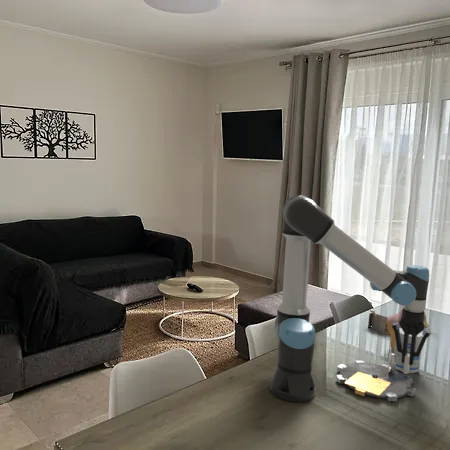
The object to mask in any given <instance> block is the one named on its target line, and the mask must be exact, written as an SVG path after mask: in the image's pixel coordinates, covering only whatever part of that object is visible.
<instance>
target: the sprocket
mask: <svg viewBox="0 0 450 450" xmlns="http://www.w3.org/2000/svg"><path fill="white" fill-rule="evenodd" d="M388 359H389V360H388V365H387V364H385V363H384V364H377V363H371V362H365V361H364V360H355V361H354V362H352V363H348V364H343V363H340V364H339V365H337V366H336V367H337V368H336V371H337V372H339V374H336V381H337V383H338V384H340V385H341V384H342V385H343V384H344V385H345V386H346V387H348V388H349V389H351V390H352V391H354V394H356V395H358V396H361V397H362V398H363V397H364V398H365V397H366V396H369V397H372V398H379V399H385V400H386V401H387V402H398V399H401V398H404V397H406V396H409V397H414V395H415V394H416V390H417V389H416V388H414V387H412V384H413V383H414V379H413V378H412V376H410V375H409V374H405V375H404V373H401V371H400V372H399V370H397V369H396V368H395V367H396V359H397V354H395V353H394V352H390V353H389V357H388Z"/></svg>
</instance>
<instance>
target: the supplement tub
mask: <svg viewBox="0 0 450 450" xmlns="http://www.w3.org/2000/svg"><path fill="white" fill-rule="evenodd" d="M399 330H400V337H401V344H402V348H403V341H404V332H403V330H402V328H400V329H399ZM411 337H412V335H409V340H408V348H407V354H410V348H411V340H412V338H411ZM422 337H423V332H420V333H419V334H418V335H417V338H416V347H415V352H417V349H418V347H419V344H420V342H421V340H422ZM393 353H395V354H397V359H396V367H395V370H396V371H398V372H399V371H400V372H403V370H404V363H402V362H401V361H402V353H400V352H398V351H397V346H396V340H395V348H394V351H393ZM421 354H422V352H421V353H420V355H419V356H418V357H416V356H415V357H414V362H413V364H412V365H410V369H409V373H408V374H415V373H418V372H419V369H420V362H421V356H422V355H421Z"/></svg>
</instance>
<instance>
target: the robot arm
mask: <svg viewBox="0 0 450 450" xmlns="http://www.w3.org/2000/svg"><path fill="white" fill-rule="evenodd" d="M281 212H282V214H281V215H282V218H283V219H282V231H281V232H282V235H283V236H284V237H285V249H284V250H285V251H284V252H285V253H284V266H283V267H284V268H283V284H282V294H281V295H282V296H281V297H282V299H281V303H280V304H279V305H278V306H277V309H276V311H277V312H276V318H275V322H274V331H275V333H276V338H277V345H278V346H277V347H278V348H277V360H276V367H275V370H274V372H273V374H272V377H271V379H270V382H269V390H270V389H271V390H270V392H271V391H272V392H271V393H272V395H274V396H275V397H276V398H278V397H279V399H281V400H283V401H288V402H291V403H292V402H294V403H303V401H304V402H308V401H311V400H312V399H314V398H315V396H316V389H317V388H316V384H315V379H314V375H313V361H314V353H315V352H314V351H315V340H316V329H315V326H314V325H313V323H311V322H310V316H311V315H310V314H311V310H310V308H309V307H308V306H307V297H308V296H307V295H308V283H309V282H308V281H309V271H310V270H309V269H310V257H311V256H310V254H311V245H312V244H311V242H312V243H313V244H315V245H316V244H320V245H321V246H322V247H324V248H326V249H327V250H328V251H329V252H330V253H332V254H333V255H335V256H336V257H337V258H338V259H340V260H341V262H343V263H345V264H346V265H347V266H349V267H350V268H352V269H353V270H354V271H355V272H356V273H358V274H359V275H360V276H362V277H363V278H364V279H366V280H367V281H368V282H369V286H370V288H371V290H373V291H376V292H377V291H378V292H382V293H383V294H385V295H386V296H388V298H390V299H391V300H392V301H393V302H394V303H395V304H398V305H400V306H401V309H402V314H401V320H400V321H399V323H394V324H393V325H392V328H393V330H394V331H395V339H396V346H397V351H398V352H400V353H402V361H401V362H402V363H404V370H403V373H402V374H405V375H409V374H410V373H409V369H410V365H412V364H413V362H414V357H415V356H416V357H418V356H419V355H420V353H421V354H422V351H423V348H424V345H425V343H426V341H427V339H428V338H429V337H430V335H431V334H432V332H431V331H429V330H427V329H426V327H425V326H424V316H425V314H426V312H425V311H426V306H427V298H428V290H429V283H430V270H429V268H427V267H425V266H423V265H418V264H409V265H407V266H406V269H405V270H395V269H394V270H393V269H392V268H391V267H390V266H388V265H387V264H386V263H384V262H383V261H382V260H381V259H379V258H378V257H377V256H375V255H374V254H373V253H372V252H370V251H369V250H368V249H366V248H365V247H364V246H363V245H361V244H360V243H359V242H357V241H356V240H355V239H353V238H352V237H351V236H350V235H348V234H347V233H346V232H344V230H342V229H341V228H340V227H338V226H337V225H336V224H335V220H334V219H333V218H332V217H331V216H329V215H328V214H327V213H326V212H325V211H324V210H323V209H322V207H320V206H319V205H318V204H317V203H316V202H315V200H313V199H311V198H310V197H309V196H306V195H296V196H295V195H294V196H292V197H290V198H288V199H287V200H286V202H285V203H284V205H283V207H282V211H281ZM400 326H401V328H402V330H403V332H404V341H403V348H402V344H401V337H400V330H399V329H400ZM420 332H421V333H422V334H423V337H422V340H421V342H420V344H419V347H418V349H417V352H415V347H416V338H417V335H418V334H419V333H420ZM409 335H412V337H411V338H412V340H411V348H410V354H407V348H408V340H409ZM313 397H314V398H313ZM310 399H311V400H310Z"/></svg>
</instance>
